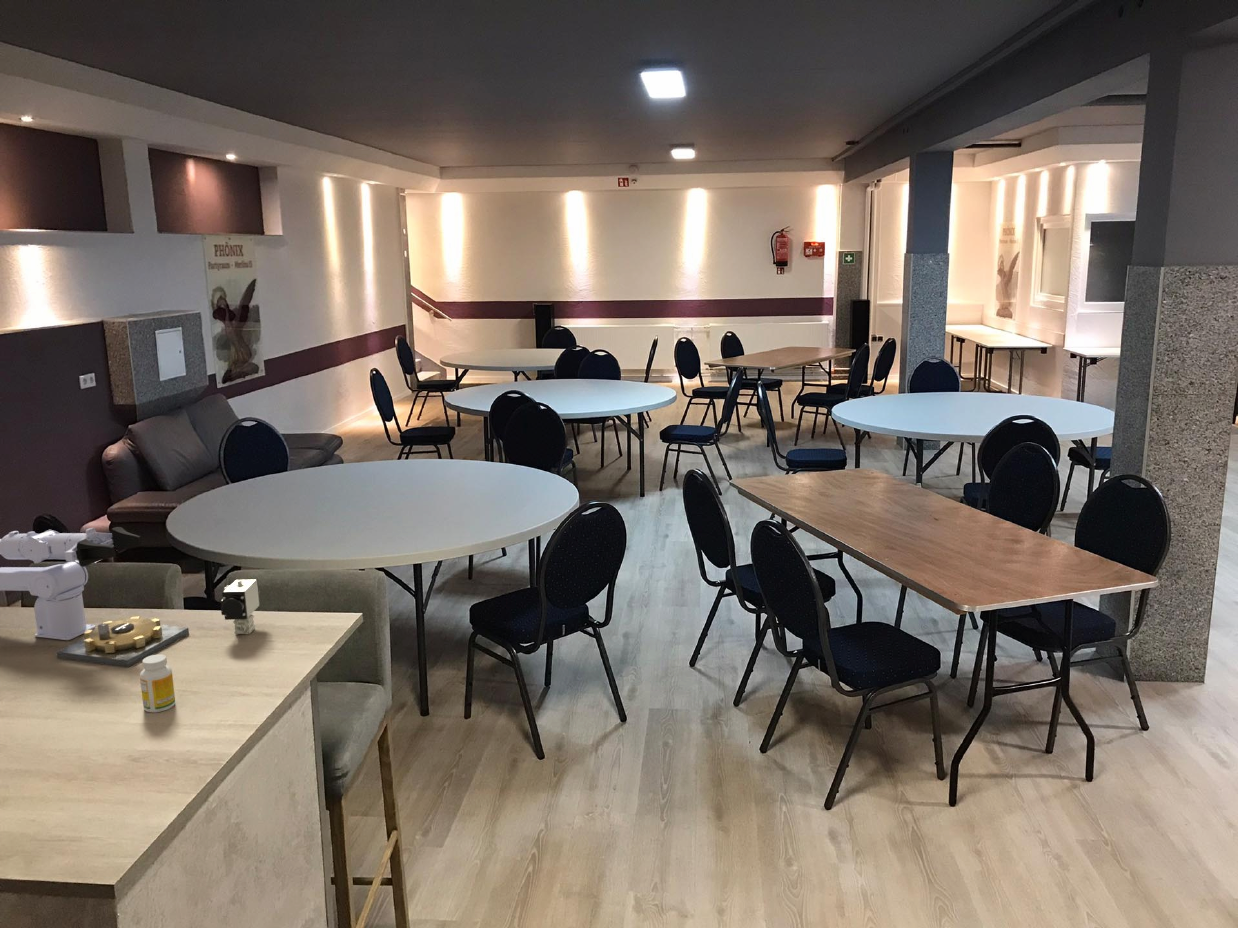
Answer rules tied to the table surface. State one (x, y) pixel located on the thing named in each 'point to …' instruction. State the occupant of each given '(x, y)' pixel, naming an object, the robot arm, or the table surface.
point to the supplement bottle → (157, 684)
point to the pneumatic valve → (241, 604)
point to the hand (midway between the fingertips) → (127, 546)
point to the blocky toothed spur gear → (122, 634)
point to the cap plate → (125, 655)
